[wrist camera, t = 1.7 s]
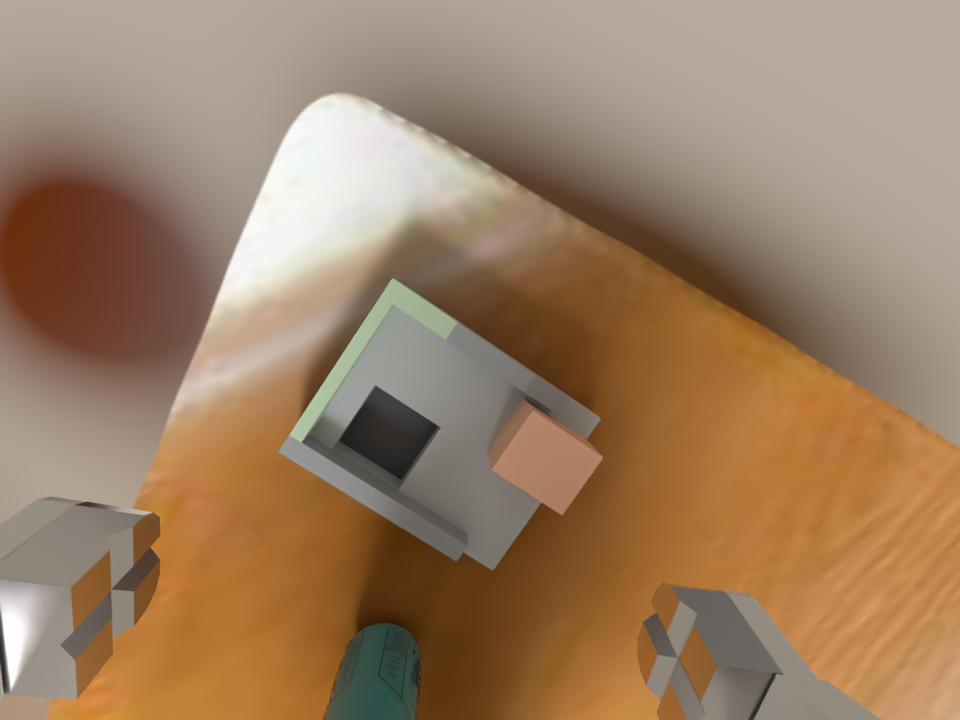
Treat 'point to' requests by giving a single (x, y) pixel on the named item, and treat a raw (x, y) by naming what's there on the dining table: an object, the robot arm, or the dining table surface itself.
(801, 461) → the dining table surface
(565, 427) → the block
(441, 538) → the tray
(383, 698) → the beverage bottle
